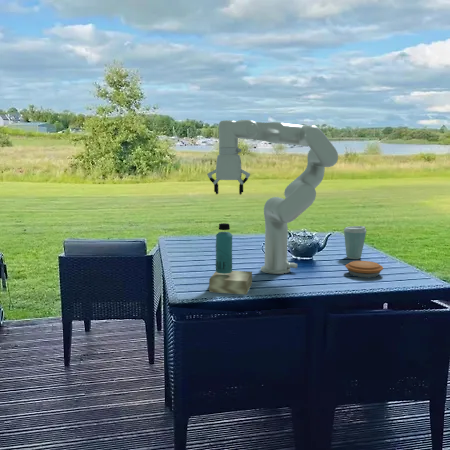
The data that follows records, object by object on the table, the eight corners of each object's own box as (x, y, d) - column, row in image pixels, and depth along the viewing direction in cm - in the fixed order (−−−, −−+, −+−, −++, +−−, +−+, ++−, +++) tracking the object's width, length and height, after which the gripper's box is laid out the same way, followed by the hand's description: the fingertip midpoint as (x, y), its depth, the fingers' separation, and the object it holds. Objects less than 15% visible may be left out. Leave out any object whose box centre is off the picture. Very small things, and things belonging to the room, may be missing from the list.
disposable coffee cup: (341, 259, 260) (343, 227, 258) (342, 254, 271) (344, 224, 268) (365, 260, 258) (366, 229, 255) (365, 255, 268) (366, 225, 266)
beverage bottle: (231, 273, 214) (232, 222, 211) (233, 277, 208) (233, 224, 204) (214, 273, 214) (215, 222, 210) (215, 277, 207) (216, 225, 204)
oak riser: (251, 284, 218) (252, 271, 217) (246, 294, 204) (246, 281, 203) (216, 282, 220) (216, 269, 219) (209, 292, 207) (209, 279, 206)
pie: (387, 273, 236) (387, 261, 236) (376, 281, 223) (377, 269, 222) (352, 268, 244) (352, 257, 243) (339, 276, 231) (340, 264, 230)
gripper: (250, 151, 226) (250, 193, 229) (208, 151, 228) (209, 192, 231) (249, 152, 218) (249, 195, 221) (205, 152, 220) (206, 195, 223)
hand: (228, 194), depth 226 cm, fingers open, 9 cm apart
